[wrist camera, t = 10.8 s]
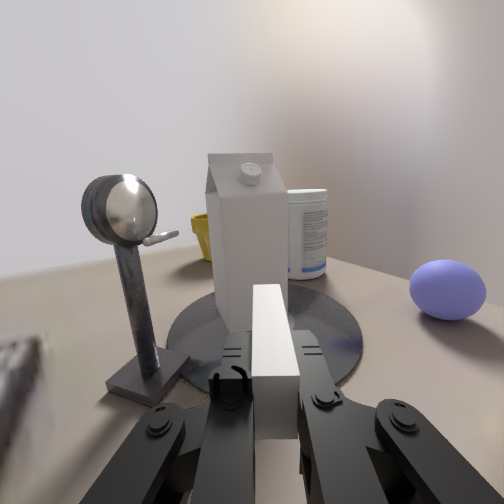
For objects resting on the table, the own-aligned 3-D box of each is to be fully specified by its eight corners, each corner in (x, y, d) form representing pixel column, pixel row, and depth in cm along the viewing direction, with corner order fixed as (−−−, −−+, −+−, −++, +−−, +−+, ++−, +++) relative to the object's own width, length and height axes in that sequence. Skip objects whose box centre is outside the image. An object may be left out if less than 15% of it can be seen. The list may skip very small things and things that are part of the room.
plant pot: (189, 256, 57) (184, 215, 54) (228, 248, 62) (225, 210, 59) (205, 268, 48) (200, 220, 46) (249, 258, 54) (247, 214, 51)
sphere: (495, 327, 27) (512, 268, 25) (442, 337, 25) (455, 276, 23) (436, 298, 33) (446, 250, 31) (392, 305, 32) (399, 255, 30)
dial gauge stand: (161, 411, 19) (114, 172, 14) (107, 391, 21) (49, 177, 16) (197, 364, 23) (172, 173, 18) (151, 352, 25) (116, 176, 20)
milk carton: (215, 307, 33) (201, 157, 27) (263, 296, 35) (259, 156, 30) (230, 337, 26) (215, 149, 21) (288, 321, 29) (288, 149, 23)
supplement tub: (323, 263, 48) (326, 188, 44) (328, 283, 40) (333, 191, 35) (275, 262, 50) (273, 190, 46) (269, 280, 41) (267, 193, 37)
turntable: (370, 445, 16) (371, 440, 15) (119, 366, 23) (118, 362, 23) (358, 294, 35) (358, 292, 35) (223, 279, 43) (223, 276, 43)
